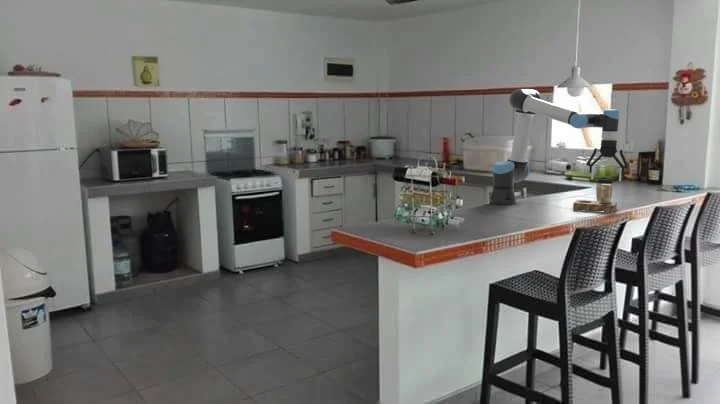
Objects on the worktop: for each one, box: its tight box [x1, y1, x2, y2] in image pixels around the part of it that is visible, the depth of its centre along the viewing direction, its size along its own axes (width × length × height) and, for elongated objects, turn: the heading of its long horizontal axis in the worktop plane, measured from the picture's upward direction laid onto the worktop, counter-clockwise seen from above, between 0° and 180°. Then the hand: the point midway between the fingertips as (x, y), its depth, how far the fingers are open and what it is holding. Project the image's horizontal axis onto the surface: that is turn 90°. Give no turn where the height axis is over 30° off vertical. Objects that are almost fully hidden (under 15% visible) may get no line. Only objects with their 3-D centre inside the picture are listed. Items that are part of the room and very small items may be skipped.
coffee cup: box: [595, 177, 615, 202], centre depth 325 cm, size 9×9×15 cm
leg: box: [600, 184, 611, 204], centre depth 307 cm, size 4×4×14 cm
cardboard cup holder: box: [572, 199, 618, 213], centre depth 310 cm, size 20×12×4 cm, turn 61°
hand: (605, 180), depth 306 cm, fingers open, 13 cm apart
